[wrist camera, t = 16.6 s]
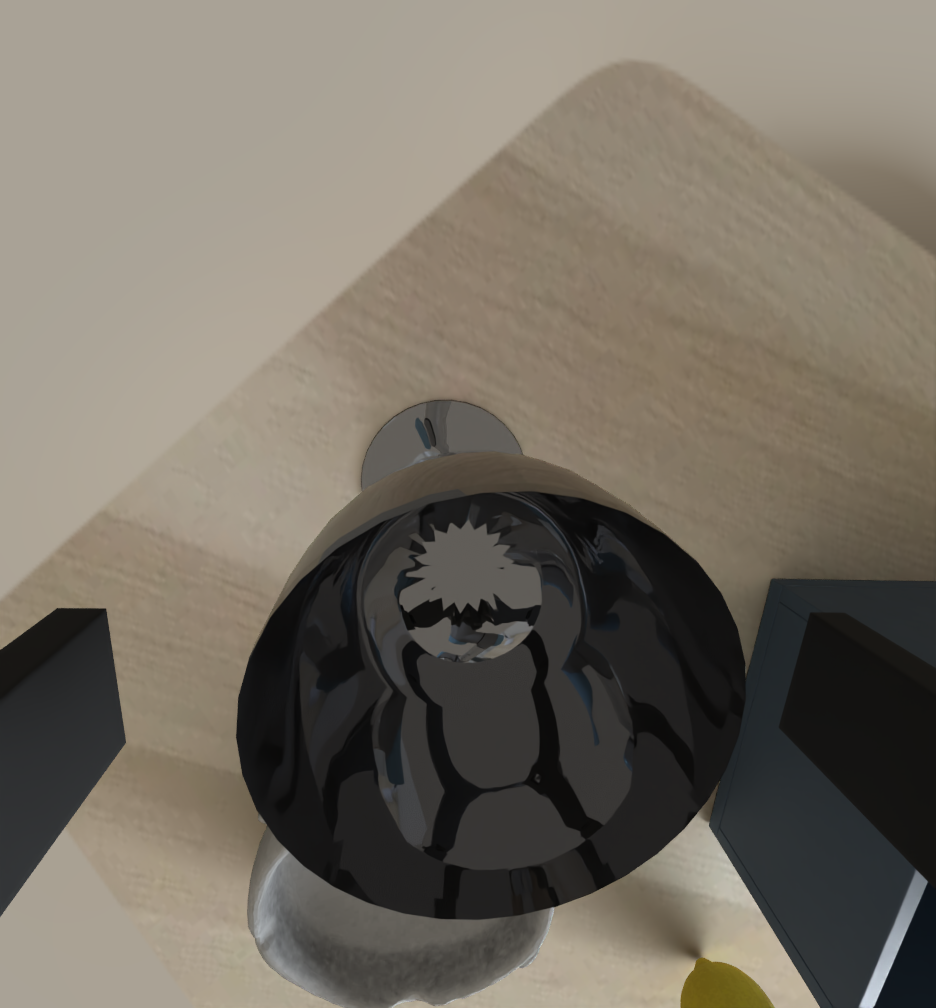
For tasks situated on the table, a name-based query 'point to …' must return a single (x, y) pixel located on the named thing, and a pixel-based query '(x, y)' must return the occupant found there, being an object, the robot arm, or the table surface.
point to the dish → (376, 940)
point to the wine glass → (486, 681)
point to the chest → (827, 817)
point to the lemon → (721, 988)
